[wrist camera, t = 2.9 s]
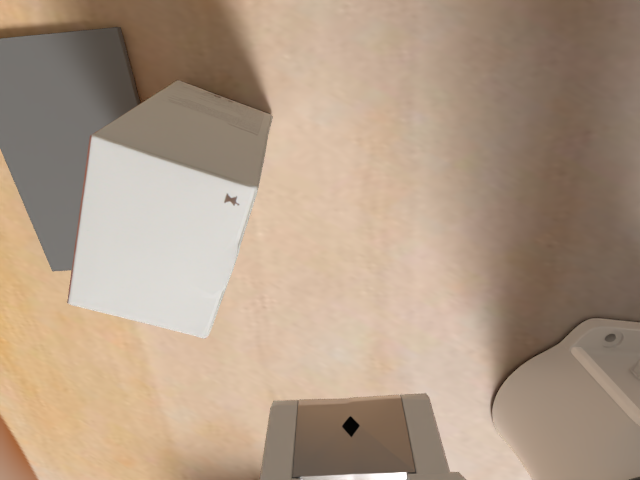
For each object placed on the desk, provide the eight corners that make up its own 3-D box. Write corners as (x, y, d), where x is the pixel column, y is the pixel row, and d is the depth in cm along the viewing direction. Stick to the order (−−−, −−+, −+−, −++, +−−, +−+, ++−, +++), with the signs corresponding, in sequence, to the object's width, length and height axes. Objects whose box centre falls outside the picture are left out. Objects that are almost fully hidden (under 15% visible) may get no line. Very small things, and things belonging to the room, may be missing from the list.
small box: (176, 77, 26) (87, 128, 15) (274, 114, 28) (263, 186, 16) (151, 193, 30) (63, 307, 18) (240, 220, 31) (210, 342, 20)
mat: (120, 27, 26) (116, 27, 25) (181, 259, 33) (179, 263, 32) (-38, 42, 26) (-45, 42, 26) (56, 268, 33) (52, 271, 33)
